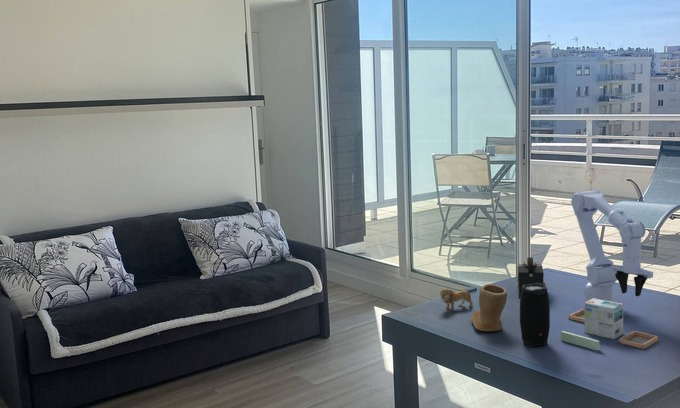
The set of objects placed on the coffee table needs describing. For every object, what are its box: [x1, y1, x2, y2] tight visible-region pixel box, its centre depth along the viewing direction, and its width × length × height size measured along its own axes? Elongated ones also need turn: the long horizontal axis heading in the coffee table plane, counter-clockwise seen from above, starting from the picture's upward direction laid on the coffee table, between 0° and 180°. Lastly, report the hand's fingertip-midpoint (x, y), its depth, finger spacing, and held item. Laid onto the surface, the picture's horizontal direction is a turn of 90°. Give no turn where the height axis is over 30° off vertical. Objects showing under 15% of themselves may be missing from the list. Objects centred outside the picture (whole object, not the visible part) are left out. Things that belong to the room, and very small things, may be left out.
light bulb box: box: [583, 298, 624, 340], centre depth 228 cm, size 11×7×11 cm, turn 43°
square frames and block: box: [560, 308, 659, 351], centre depth 229 cm, size 32×29×3 cm
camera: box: [516, 256, 547, 299], centre depth 274 cm, size 11×14×15 cm
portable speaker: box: [519, 283, 551, 348], centre depth 222 cm, size 9×9×20 cm
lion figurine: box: [440, 287, 474, 312], centre depth 262 cm, size 15×5×9 cm, turn 118°
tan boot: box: [470, 283, 508, 332], centre depth 241 cm, size 15×12×15 cm
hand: (631, 294), depth 239 cm, fingers open, 4 cm apart
